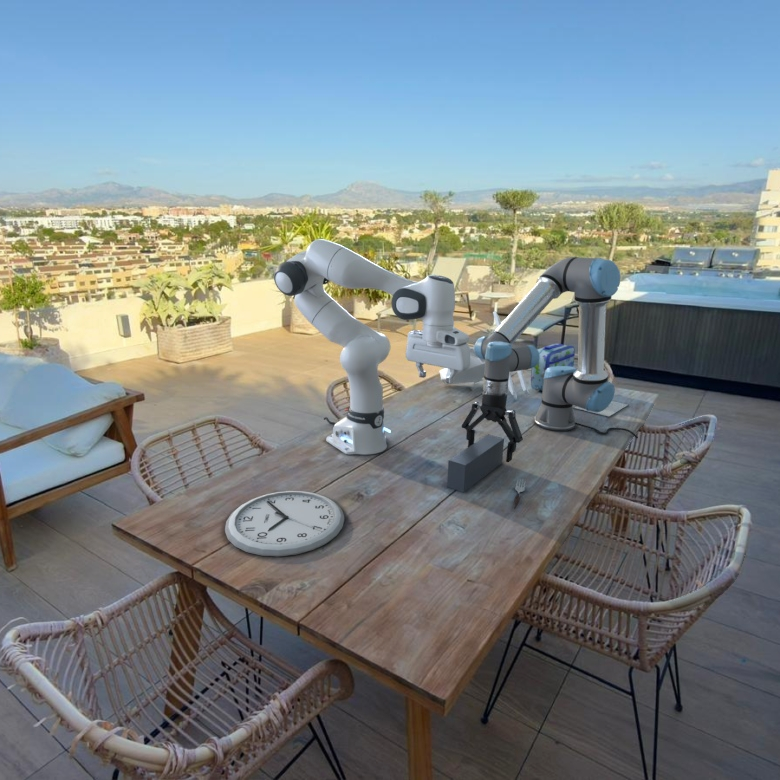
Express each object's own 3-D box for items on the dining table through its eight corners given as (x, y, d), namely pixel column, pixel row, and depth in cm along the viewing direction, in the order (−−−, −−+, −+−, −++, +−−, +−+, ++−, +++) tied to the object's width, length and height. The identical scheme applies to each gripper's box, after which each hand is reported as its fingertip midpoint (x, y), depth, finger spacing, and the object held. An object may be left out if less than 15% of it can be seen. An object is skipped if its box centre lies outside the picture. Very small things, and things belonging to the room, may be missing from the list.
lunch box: (547, 395, 239) (552, 351, 233) (526, 390, 247) (530, 347, 240) (574, 384, 257) (579, 343, 251) (554, 380, 264) (558, 339, 258)
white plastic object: (461, 429, 252) (437, 405, 227) (444, 352, 274) (420, 323, 250) (535, 404, 240) (518, 377, 215) (510, 326, 262) (492, 293, 237)
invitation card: (608, 416, 214) (573, 407, 224) (608, 416, 214) (573, 408, 224) (628, 404, 229) (594, 396, 238) (628, 405, 229) (594, 397, 238)
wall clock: (344, 547, 121) (211, 552, 118) (344, 554, 121) (212, 558, 119) (344, 486, 149) (237, 489, 147) (344, 491, 150) (237, 494, 147)
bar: (486, 458, 174) (488, 434, 171) (502, 462, 170) (504, 438, 168) (447, 486, 154) (448, 459, 152) (463, 492, 151) (465, 465, 148)
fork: (509, 509, 142) (509, 503, 141) (516, 484, 156) (517, 477, 156) (519, 511, 141) (519, 504, 140) (525, 485, 155) (526, 479, 155)
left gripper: (401, 330, 153) (400, 375, 157) (463, 340, 141) (460, 389, 145) (414, 327, 158) (412, 371, 162) (474, 336, 146) (471, 384, 150)
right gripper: (453, 387, 166) (449, 448, 172) (528, 403, 152) (521, 469, 158) (465, 382, 172) (461, 441, 178) (538, 397, 158) (530, 461, 164)
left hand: (435, 380), depth 154 cm, fingers open, 8 cm apart
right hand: (489, 455), depth 168 cm, fingers open, 13 cm apart
